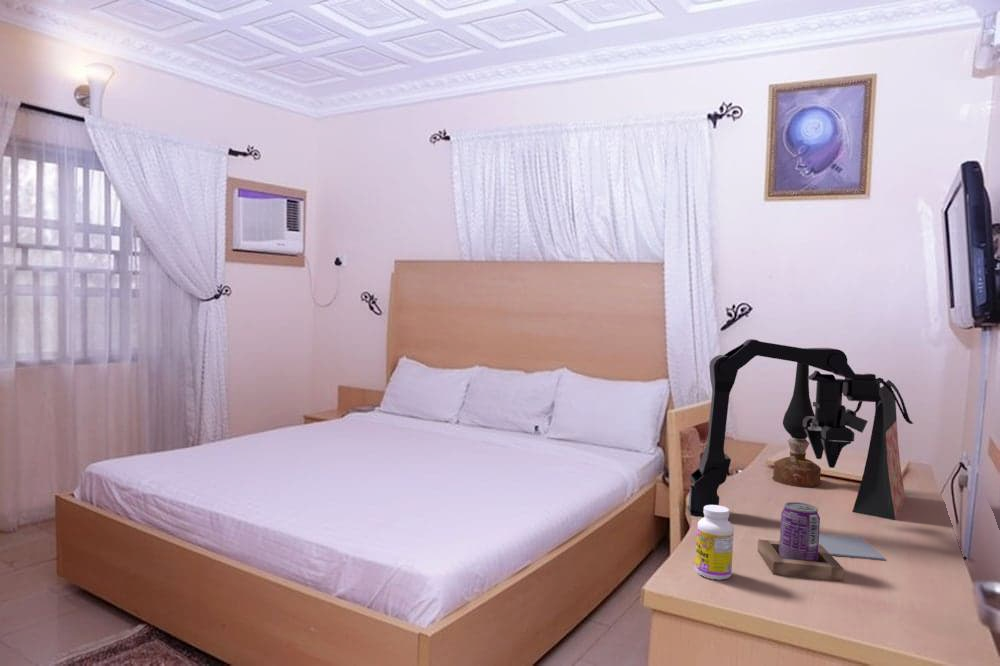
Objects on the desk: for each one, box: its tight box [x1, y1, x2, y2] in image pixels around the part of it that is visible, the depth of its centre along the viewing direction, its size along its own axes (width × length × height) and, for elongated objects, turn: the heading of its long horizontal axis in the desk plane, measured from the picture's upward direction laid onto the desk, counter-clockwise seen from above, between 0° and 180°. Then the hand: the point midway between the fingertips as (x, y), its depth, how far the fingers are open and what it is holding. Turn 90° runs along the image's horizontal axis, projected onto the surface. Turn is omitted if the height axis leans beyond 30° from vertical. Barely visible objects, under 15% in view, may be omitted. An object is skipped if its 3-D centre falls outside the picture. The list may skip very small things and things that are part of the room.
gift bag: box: [852, 377, 914, 521], centre depth 177 cm, size 29×14×35 cm, turn 144°
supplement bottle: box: [694, 504, 735, 581], centre depth 126 cm, size 7×7×13 cm
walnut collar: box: [757, 538, 844, 582], centre depth 133 cm, size 13×13×2 cm
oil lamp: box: [771, 362, 822, 489], centre depth 204 cm, size 14×15×40 cm
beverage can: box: [779, 501, 821, 562], centre depth 133 cm, size 7×7×12 cm
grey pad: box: [818, 533, 886, 561], centre depth 145 cm, size 13×13×1 cm
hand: (825, 463), depth 161 cm, fingers open, 9 cm apart
